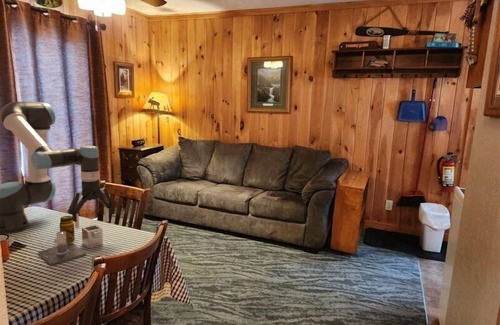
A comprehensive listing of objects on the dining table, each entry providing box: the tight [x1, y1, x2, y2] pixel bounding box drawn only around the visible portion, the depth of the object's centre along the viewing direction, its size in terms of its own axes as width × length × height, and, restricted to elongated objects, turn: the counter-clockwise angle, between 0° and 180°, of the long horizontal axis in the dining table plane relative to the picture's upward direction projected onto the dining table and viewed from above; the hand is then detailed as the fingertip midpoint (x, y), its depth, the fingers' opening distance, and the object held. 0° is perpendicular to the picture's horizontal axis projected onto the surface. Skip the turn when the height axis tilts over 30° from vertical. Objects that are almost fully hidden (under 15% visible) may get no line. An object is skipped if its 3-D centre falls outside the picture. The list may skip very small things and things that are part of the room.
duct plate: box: [37, 231, 87, 267], centre depth 144 cm, size 15×14×10 cm
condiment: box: [54, 215, 77, 247], centre depth 157 cm, size 7×8×12 cm
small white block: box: [81, 224, 104, 249], centre depth 155 cm, size 8×7×8 cm
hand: (92, 224), depth 154 cm, fingers open, 13 cm apart
